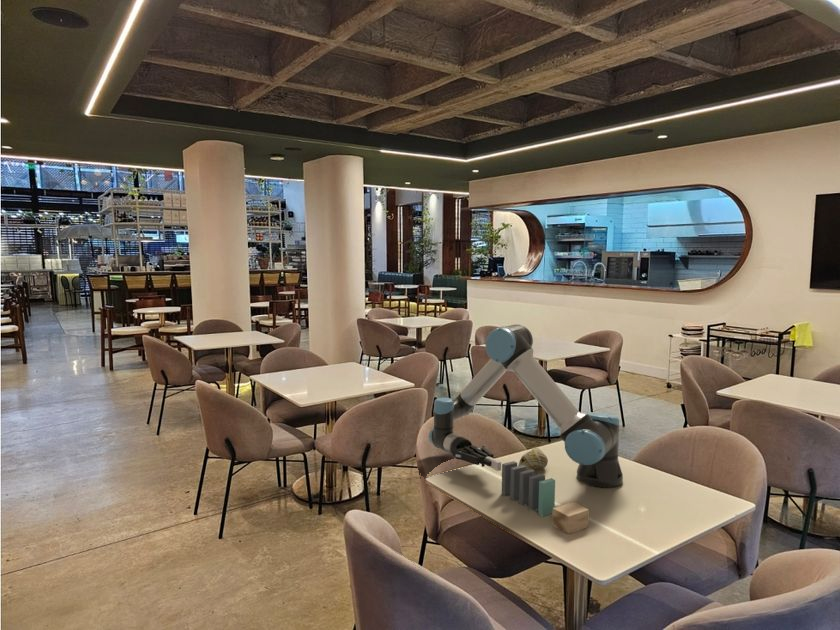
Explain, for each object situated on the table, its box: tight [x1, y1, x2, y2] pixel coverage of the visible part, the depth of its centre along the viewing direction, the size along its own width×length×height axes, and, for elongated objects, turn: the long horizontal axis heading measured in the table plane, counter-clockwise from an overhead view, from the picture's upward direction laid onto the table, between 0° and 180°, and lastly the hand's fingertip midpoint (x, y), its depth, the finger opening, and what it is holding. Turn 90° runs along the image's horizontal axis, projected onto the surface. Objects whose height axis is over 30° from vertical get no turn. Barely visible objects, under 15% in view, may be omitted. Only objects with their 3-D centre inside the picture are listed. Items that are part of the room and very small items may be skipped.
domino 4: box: [528, 473, 546, 512], centre depth 162 cm, size 2×5×10 cm, turn 121°
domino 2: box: [509, 465, 526, 501], centre depth 169 cm, size 2×5×10 cm, turn 122°
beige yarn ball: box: [517, 447, 549, 471], centre depth 195 cm, size 10×10×10 cm
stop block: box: [551, 501, 590, 535], centre depth 151 cm, size 6×8×5 cm
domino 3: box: [518, 469, 536, 506], centre depth 166 cm, size 2×5×10 cm, turn 122°
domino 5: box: [537, 478, 556, 517], centre depth 159 cm, size 2×5×10 cm, turn 121°
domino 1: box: [501, 460, 518, 496], centre depth 173 cm, size 2×5×10 cm, turn 122°
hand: (499, 466), depth 177 cm, fingers closed
